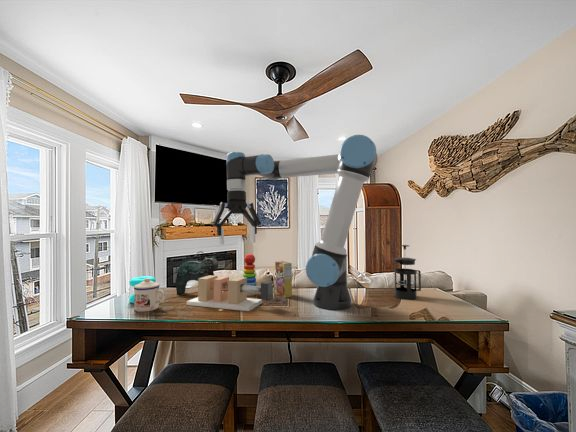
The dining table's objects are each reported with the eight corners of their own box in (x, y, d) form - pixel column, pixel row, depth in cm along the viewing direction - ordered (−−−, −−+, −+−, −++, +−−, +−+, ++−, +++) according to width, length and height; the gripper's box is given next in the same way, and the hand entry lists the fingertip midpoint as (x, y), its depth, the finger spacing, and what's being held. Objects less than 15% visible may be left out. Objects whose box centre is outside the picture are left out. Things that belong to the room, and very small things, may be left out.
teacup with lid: (128, 311, 110) (128, 280, 111) (143, 305, 119) (143, 276, 120) (157, 312, 109) (157, 281, 109) (170, 306, 118) (171, 276, 118)
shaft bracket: (262, 303, 121) (261, 277, 122) (248, 311, 110) (248, 283, 110) (204, 297, 131) (204, 274, 131) (186, 304, 119) (186, 278, 120)
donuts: (139, 275, 132) (160, 276, 130) (139, 297, 131) (160, 298, 130) (123, 279, 122) (145, 280, 120) (123, 303, 121) (145, 304, 120)
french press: (396, 299, 126) (395, 245, 126) (390, 294, 135) (389, 244, 136) (424, 299, 125) (423, 245, 126) (416, 294, 134) (415, 244, 135)
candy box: (274, 294, 137) (274, 261, 138) (283, 292, 139) (282, 260, 140) (283, 298, 129) (283, 263, 130) (292, 297, 131) (292, 262, 132)
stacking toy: (254, 296, 132) (254, 255, 133) (237, 296, 134) (237, 254, 134) (259, 292, 140) (259, 253, 140) (243, 292, 141) (243, 253, 142)
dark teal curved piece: (219, 293, 140) (219, 250, 140) (213, 296, 133) (213, 252, 134) (180, 291, 143) (180, 250, 143) (172, 295, 136) (173, 251, 137)
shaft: (272, 296, 116) (272, 281, 116) (267, 299, 111) (267, 283, 112) (225, 292, 123) (225, 278, 123) (219, 295, 118) (219, 280, 119)
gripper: (259, 193, 130) (260, 241, 129) (203, 190, 116) (204, 244, 115) (267, 191, 123) (269, 241, 123) (209, 188, 110) (210, 245, 109)
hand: (237, 243), depth 119 cm, fingers open, 13 cm apart
